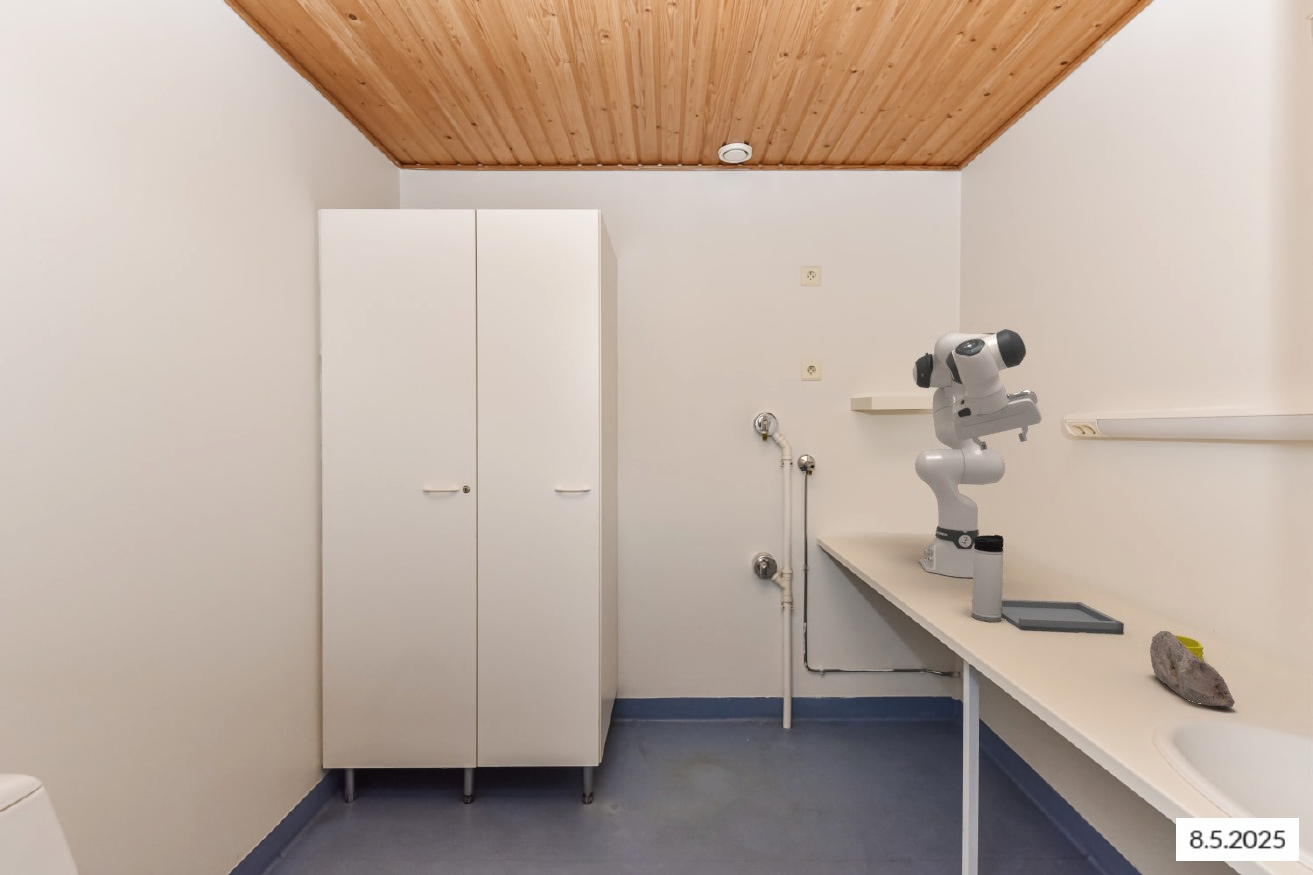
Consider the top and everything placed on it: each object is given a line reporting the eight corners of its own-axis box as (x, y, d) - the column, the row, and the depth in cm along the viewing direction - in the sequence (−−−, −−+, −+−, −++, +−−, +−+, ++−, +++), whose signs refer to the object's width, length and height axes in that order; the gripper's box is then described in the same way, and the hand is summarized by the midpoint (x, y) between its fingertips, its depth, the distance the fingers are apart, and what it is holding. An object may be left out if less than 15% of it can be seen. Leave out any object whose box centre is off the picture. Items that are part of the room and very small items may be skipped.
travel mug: (1008, 621, 145) (1011, 537, 144) (986, 623, 143) (988, 538, 142) (987, 613, 151) (989, 533, 150) (965, 615, 149) (968, 534, 148)
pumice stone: (1240, 714, 99) (1242, 654, 99) (1184, 707, 101) (1186, 648, 101) (1188, 677, 114) (1191, 625, 113) (1141, 672, 116) (1143, 620, 116)
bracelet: (1159, 659, 123) (1159, 642, 123) (1151, 646, 130) (1151, 631, 130) (1207, 666, 119) (1207, 650, 119) (1196, 653, 126) (1196, 637, 126)
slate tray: (988, 608, 154) (989, 598, 154) (1079, 612, 153) (1080, 602, 153) (1021, 630, 139) (1021, 619, 138) (1123, 634, 137) (1123, 623, 137)
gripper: (1032, 383, 154) (1047, 429, 158) (947, 405, 165) (962, 447, 169) (1035, 393, 149) (1050, 440, 153) (946, 415, 160) (963, 459, 164)
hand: (1003, 444), depth 161 cm, fingers open, 8 cm apart
